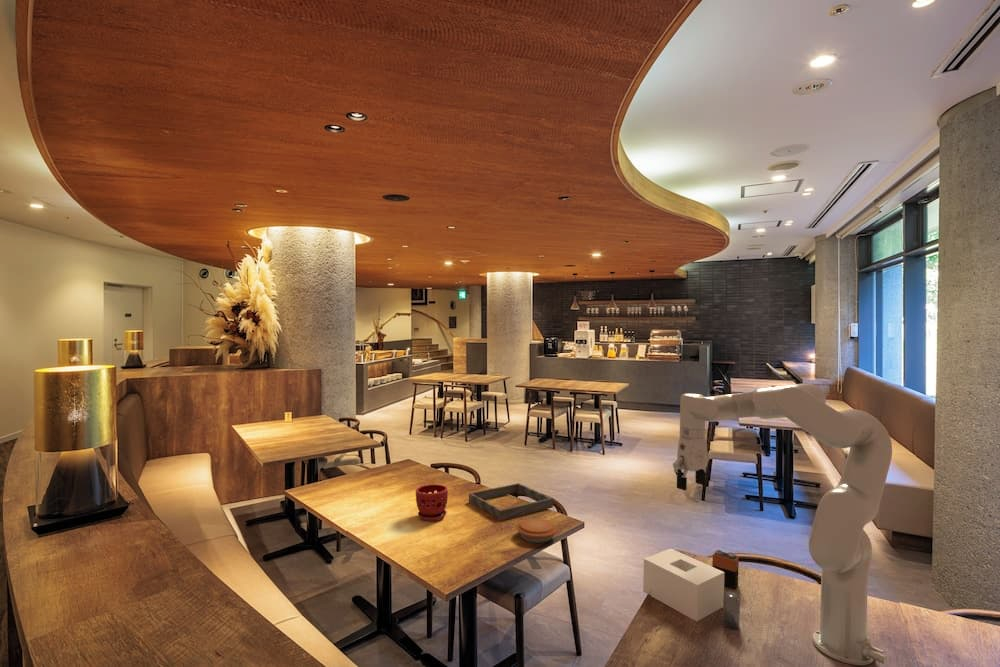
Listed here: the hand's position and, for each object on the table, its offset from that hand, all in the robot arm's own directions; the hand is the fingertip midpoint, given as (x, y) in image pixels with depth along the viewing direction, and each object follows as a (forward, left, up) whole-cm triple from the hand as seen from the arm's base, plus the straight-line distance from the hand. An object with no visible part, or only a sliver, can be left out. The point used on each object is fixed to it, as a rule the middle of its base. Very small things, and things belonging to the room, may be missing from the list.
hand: (691, 486), depth 157 cm
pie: (+51, +21, -30) cm, 63 cm away
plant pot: (+89, +46, -30) cm, 104 cm away
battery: (-8, -7, -30) cm, 32 cm away
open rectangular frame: (+83, +10, -30) cm, 89 cm away
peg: (-21, +12, -30) cm, 38 cm away
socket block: (-6, +12, -30) cm, 33 cm away
